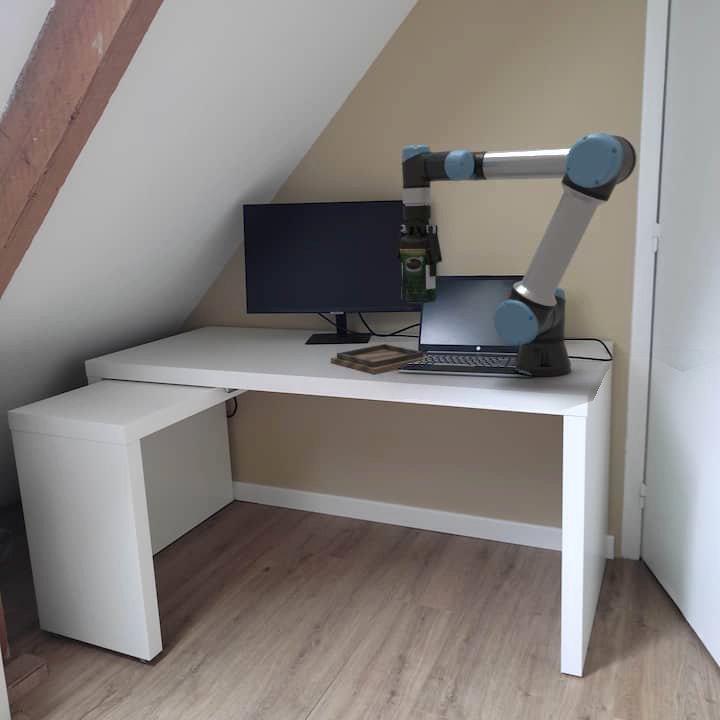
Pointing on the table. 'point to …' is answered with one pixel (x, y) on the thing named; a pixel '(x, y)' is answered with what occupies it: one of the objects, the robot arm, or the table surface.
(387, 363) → the wooden tray
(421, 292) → the coffee jar
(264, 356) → the table surface
